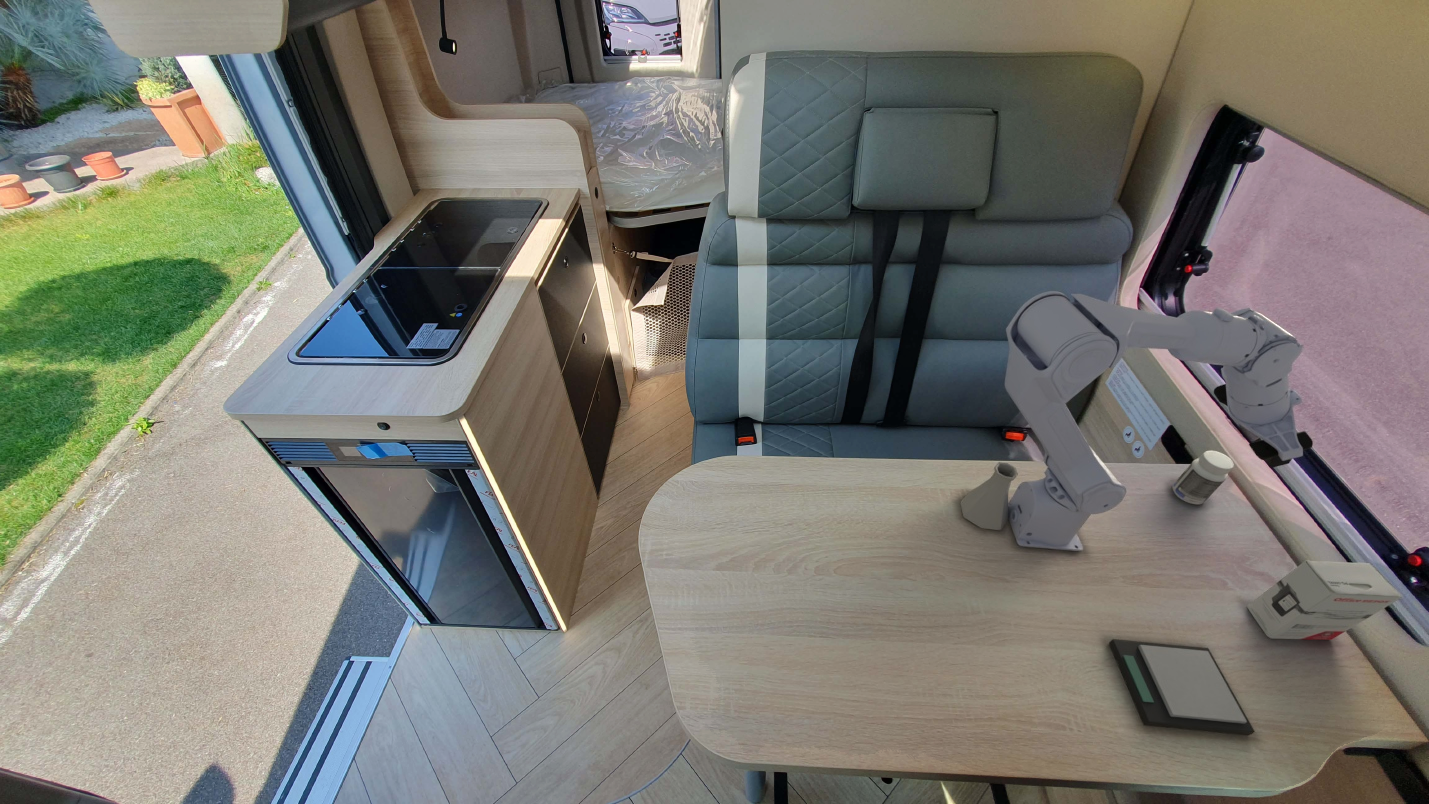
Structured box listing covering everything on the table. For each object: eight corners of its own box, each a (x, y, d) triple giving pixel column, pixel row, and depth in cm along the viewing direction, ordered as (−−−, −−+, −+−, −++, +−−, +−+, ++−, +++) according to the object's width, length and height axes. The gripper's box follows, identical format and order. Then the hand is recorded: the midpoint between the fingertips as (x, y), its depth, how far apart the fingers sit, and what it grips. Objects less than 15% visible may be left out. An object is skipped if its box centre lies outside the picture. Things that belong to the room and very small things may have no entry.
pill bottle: (1209, 507, 93) (1243, 473, 87) (1177, 502, 94) (1208, 468, 88) (1197, 485, 96) (1228, 450, 91) (1166, 480, 97) (1196, 446, 91)
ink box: (1306, 607, 80) (1373, 560, 72) (1333, 642, 77) (1407, 596, 69) (1244, 605, 80) (1304, 557, 72) (1268, 639, 77) (1335, 593, 69)
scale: (1143, 725, 68) (1151, 719, 67) (1108, 642, 76) (1115, 636, 75) (1248, 735, 68) (1258, 730, 67) (1202, 651, 75) (1211, 645, 74)
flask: (1009, 503, 92) (1034, 462, 86) (1005, 538, 88) (1031, 496, 81) (963, 487, 95) (983, 445, 88) (956, 520, 90) (977, 478, 83)
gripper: (1336, 421, 66) (1334, 475, 74) (1264, 333, 75) (1268, 390, 83) (1259, 441, 69) (1264, 491, 77) (1199, 355, 79) (1209, 408, 87)
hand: (1262, 440), depth 80 cm, fingers open, 7 cm apart
